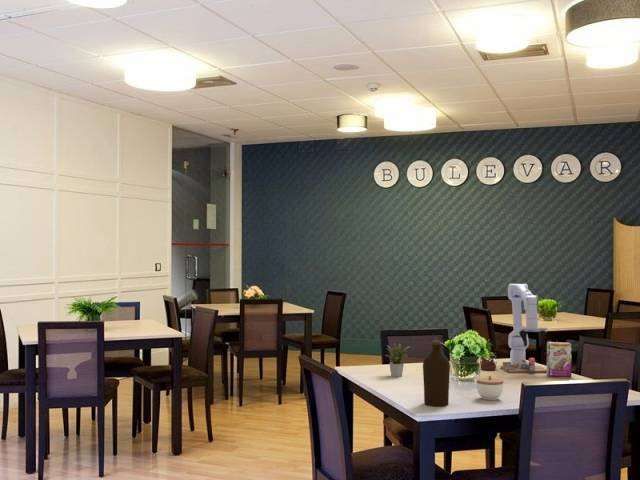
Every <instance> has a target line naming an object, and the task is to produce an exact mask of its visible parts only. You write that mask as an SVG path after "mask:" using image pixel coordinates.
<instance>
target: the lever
mask: <svg viewBox="0 0 640 480" xmlns="http://www.w3.org/2000/svg"><path fill="white" fill-rule="evenodd" d="M535 360H536V358H534V357H529V358H528V361H527V360H526V359H525V360H522V361H521V362H520V368H522V369H528V370H530V371H535V366H536V361H535Z"/></svg>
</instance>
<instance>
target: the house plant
mask: <svg viewBox="0 0 640 480" xmlns="http://www.w3.org/2000/svg"><path fill="white" fill-rule="evenodd" d="M386 346H387V347H388V348H385V349H387V351H388V352H389V354H390V355H388V354H386V355H384V356H385V357H388V358H389V359H390V360H391V361H390V362H389V370H390V376H391V377H395V378H399V377H403V372H404V365H405V363H404V362H402V360H403V359H404V358H407V353H406V354H404V352H408V349H409V348H411V346H406V347H405V348H403V349H402V350H401V348H402V347H401V346H402V345H401V343H399V344H398V347H397V345H396V343H395V342H394V347H390V345H386Z"/></svg>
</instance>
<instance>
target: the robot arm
mask: <svg viewBox="0 0 640 480" xmlns="http://www.w3.org/2000/svg"><path fill="white" fill-rule="evenodd" d="M507 298H508V300H510V302H511V306H512V307H511V308H512V325H513V327H512V328H513V330H512V331H511V332H510V333H509V334H508V339H507V341H508V347H509V348H510V349H511V350H510V353H509V355H510V357H509V359H510V361H509V362H511V364H513V363H514V362H517V363H519V366H520V362H521V361H522V360H526V350H527V348H528V347H529V345H530V340H529V336H528V332H533V333H535V332H536V333H537V332H538V333H537V334H538V344H539V347H543V342H544V338H545V337H546V334H547V332H548V327H539V321H538V320H539V319H538V318H539V316H538V315H539V314H538V306H539V296H538V295H537V294H535V295H534V294H533V293H532V292H531V290H529V285H528V284H527V283H509V284H508V286H507ZM522 301H523V306H524V307H523V308H524V311H525V324H526V325H525V326H526V327H525V326H524V327H523V316H522V313H523V312H522Z"/></svg>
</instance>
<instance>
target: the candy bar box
mask: <svg viewBox="0 0 640 480" xmlns="http://www.w3.org/2000/svg"><path fill="white" fill-rule="evenodd" d="M572 348H573V345H572V343H570V342H560V341H559V342H557V341H556V342H555V341H554V342H553V341H547V342H546V369H547V373H546V375H547V376H548V377H563V378H565V377H567V378H571V377H572V365H573V364H572V362H573V361H572V356H573V355H572V354H573V353H572V351H573V349H572Z"/></svg>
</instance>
